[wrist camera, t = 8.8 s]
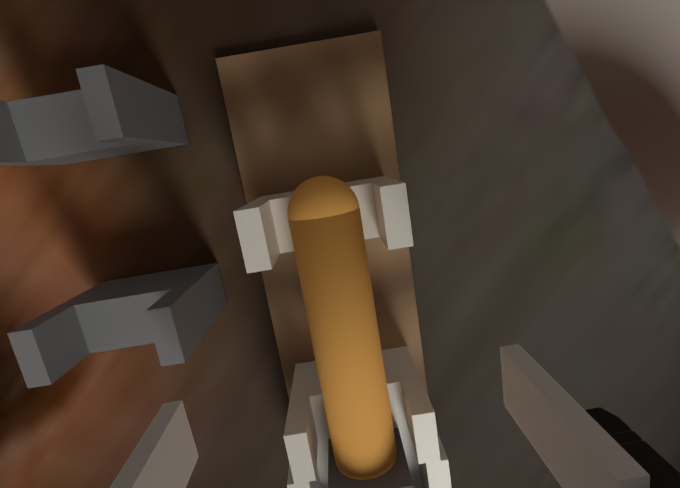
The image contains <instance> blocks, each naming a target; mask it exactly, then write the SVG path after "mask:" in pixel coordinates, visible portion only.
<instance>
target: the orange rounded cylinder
mask: <svg viewBox="0 0 680 488" xmlns="http://www.w3.org/2000/svg"><path fill="white" fill-rule="evenodd" d="M287 213H288V222H289V227H290V232H291V237H292V243H293V248H294V253H295V258H296V263H297V268H298V273H299V279H300V284H301V289H302V294H303V299H304V304H305V309H306V315H307V320H308V325H309V330H310V335H311V340H312V345H313V350H314V356H315V361H316V366H317V371H318V376H319V381H320V386H321V392H322V397H323V402H324V407H325V412H326V417H327V422H328V428H329V433H330V438H331V439H328V488H413V483H412V479H411V475H410V471H409V467H408V463H407V460H406V456H405V452H404V448H403V444H402V440H401V436H400V432H399V428H393V421H392V415H391V408H390V402H389V395H388V389H387V382H386V376H385V369H384V363H383V356H382V350H381V343H380V337H379V330H378V324H377V317H376V311H375V304H374V298H373V291H372V285H371V278H370V272H369V265H368V259H367V252H366V246H365V239H364V233H363V226H362V220H361V213H360V207H359V203H358V199H357V197H356V195H355V193H354V192H353V190H352V189H351V188H350V187H349V186H348V185H347V184H346V183H345V182H343V181H341V180H339V179H337V178H334V177H331V176H316V177H313V178H310V179H308V180H306V181H304V182H303V183H301V184H300V185H299V186H298V187H297V188H296V189H295V190H294V192H293V194H292V195H291V197H290V200H289V203H288V211H287Z"/></svg>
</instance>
